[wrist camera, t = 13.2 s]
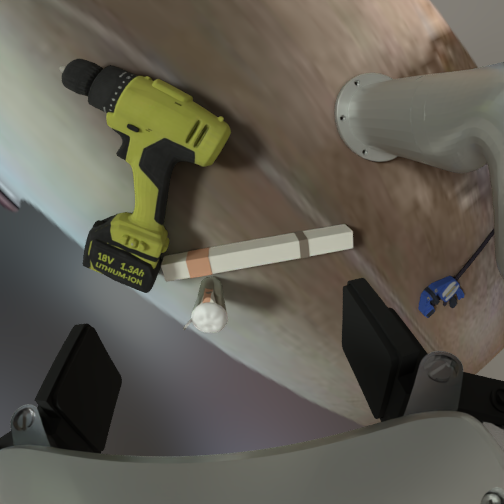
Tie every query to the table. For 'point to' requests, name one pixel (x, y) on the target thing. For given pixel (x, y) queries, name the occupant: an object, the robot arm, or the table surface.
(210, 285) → the milkshake
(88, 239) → the cordless drill
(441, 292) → the bar clamp
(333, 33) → the table surface
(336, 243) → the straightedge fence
